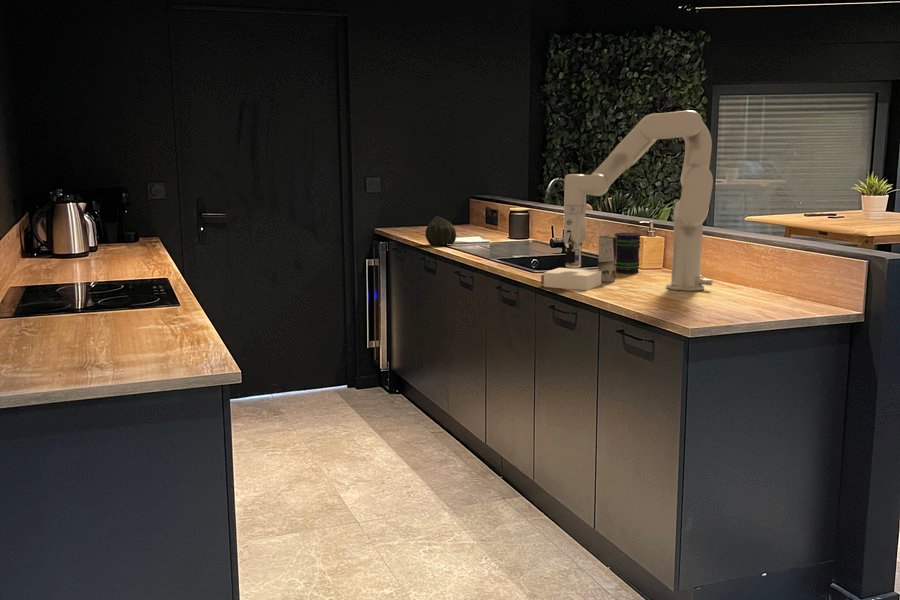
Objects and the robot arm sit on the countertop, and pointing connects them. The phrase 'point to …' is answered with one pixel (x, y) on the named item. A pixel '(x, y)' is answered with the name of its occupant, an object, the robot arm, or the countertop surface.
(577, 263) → the pill bottle
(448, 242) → the squash
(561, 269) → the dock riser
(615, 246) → the coffee box
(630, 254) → the storage jar
